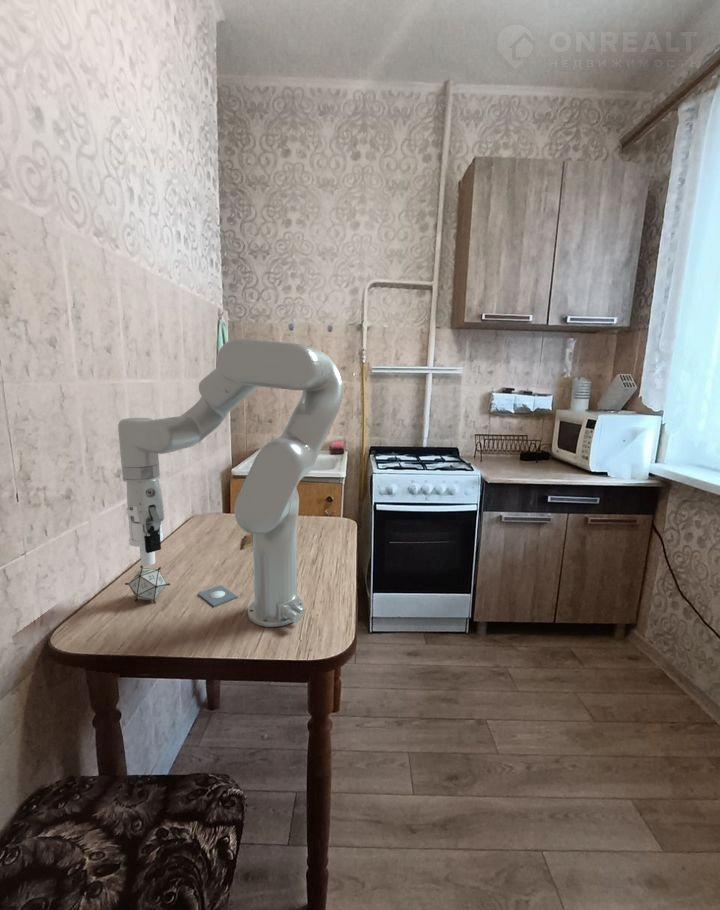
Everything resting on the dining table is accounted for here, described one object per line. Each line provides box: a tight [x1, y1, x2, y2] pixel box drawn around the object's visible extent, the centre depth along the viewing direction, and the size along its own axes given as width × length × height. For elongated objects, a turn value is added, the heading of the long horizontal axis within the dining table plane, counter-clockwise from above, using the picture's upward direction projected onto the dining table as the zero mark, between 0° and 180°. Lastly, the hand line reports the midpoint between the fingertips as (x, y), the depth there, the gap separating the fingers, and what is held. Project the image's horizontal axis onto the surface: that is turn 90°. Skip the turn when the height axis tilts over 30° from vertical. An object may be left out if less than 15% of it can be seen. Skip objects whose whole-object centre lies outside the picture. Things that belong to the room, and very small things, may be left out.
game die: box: [124, 564, 171, 604], centre depth 98 cm, size 9×8×10 cm
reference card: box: [197, 584, 238, 608], centre depth 101 cm, size 8×6×1 cm
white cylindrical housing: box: [125, 506, 164, 567], centre depth 96 cm, size 7×7×15 cm
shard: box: [242, 533, 253, 550], centre depth 136 cm, size 11×8×2 cm
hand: (147, 545), depth 97 cm, fingers closed on white cylindrical housing, 6 cm apart
